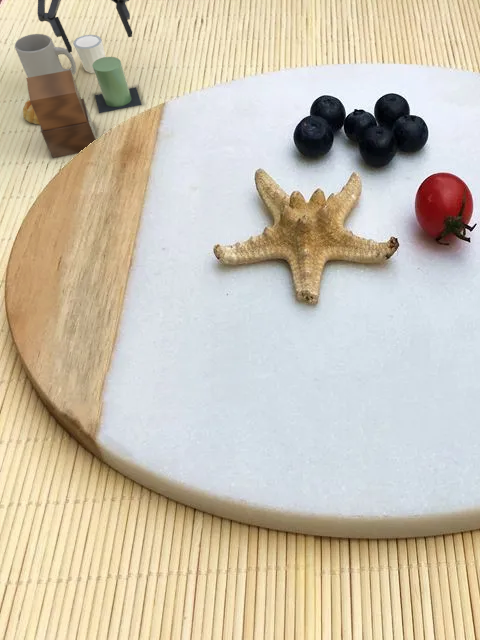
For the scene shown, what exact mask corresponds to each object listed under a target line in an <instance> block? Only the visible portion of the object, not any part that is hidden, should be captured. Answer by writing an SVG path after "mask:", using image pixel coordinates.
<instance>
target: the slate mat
mask: <svg viewBox="0 0 480 640" xmlns="http://www.w3.org/2000/svg"><path fill="white" fill-rule="evenodd" d="M129 90H130V93H131V97H132V99H131V101H130V102H129V103H128V104H127V105H124V106H121V107H110V106H108V105H106V104H105V101H104V99H103V96H102V93H99V94H94V97H95V102H96V106H97V109H98V114H102V113H107V112H113V111H118V110H123V109H129V108H134V107H139V106H142V105H143V104H142V101H141V98H140V94H139V91H138V88H137V87H129Z"/></svg>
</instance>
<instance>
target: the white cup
mask: <svg viewBox="0 0 480 640" xmlns="http://www.w3.org/2000/svg"><path fill="white" fill-rule="evenodd" d="M72 45H73V47H74V49H75V51H76V53H77V56H78V58H79V60H80V62H81V64H82V67H83V69H84V71H86V72H87V73H90V74H95V72H94V69H93V63H94V62H95V61H96V60H98V59H100V58H103V57H107V56H106V51H105V48H104V43H103V39H102V37H100V36H99V35H96V34H84V35H81V36H79V37H76V38H75V39H74V40H73V43H72Z"/></svg>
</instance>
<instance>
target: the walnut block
mask: <svg viewBox="0 0 480 640" xmlns="http://www.w3.org/2000/svg"><path fill="white" fill-rule="evenodd" d="M25 80H26V84H27V92H28V98H29V100H30V102H31V105H32V107H33V109H34V111H35V114H36V116H37V118H38V120H39V123H40V124H39V127H40V132H41V135H42V137H43V140H44V142H45V144H46V146H47V149H48V150H49V154H50V155H51V158H52V159H58V158H62V157H66V156H71V155H75V154H80V153H79V152H80V151H81V150H83V149H84V148H85V147H87V146H88V145H89V144H90V143H92V142H93V141H94V140H96V139H97V134H96V131H95V127H94V123H93V120H92V118H91V115H90V112H89V110H88V107H87V103H86V101H85V99H84V98H82V96H81V94H80V90H79V88H78V86H77V83H76V80H75V77H74V74H73V75H72V72H71V70H68V71H62V72H57V73H51V74H45V75H40V76H34V77H29V78H28V77H26V79H25Z"/></svg>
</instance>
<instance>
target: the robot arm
mask: <svg viewBox="0 0 480 640" xmlns="http://www.w3.org/2000/svg"><path fill="white" fill-rule="evenodd" d="M61 2H62V0H51V1H50V5H49V8H48V11H47V12H46V0H37V18H38V20H39V22H42V23H43V22H47V23H48V24H50V27H51V29H52V32H53V33H54V35H55V37H56V38H60V37H61V39H62V41H63V44H64V45H65V49H67V50H68V52H69V53H73V47H72V45H71V43H70V40H69V39H68V35H67V34H66V32H65V29H64V27H63V24H62V22H61V20H60V18H59V16H57V14H58V10H59V7H60V5H61ZM111 2H113V3H114V4H115V9H116V11H117V14H118V16H119V18H120V20H121V22H122V25H123V28H124V31H125V32H126V35H127V37H128V38H132V37H133V30H132V28H131V26H130V22H129V20H131V19H130V18H131V14H130V11H129V8H128V6H127V5H126V3H127V2H130V0H111Z"/></svg>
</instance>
